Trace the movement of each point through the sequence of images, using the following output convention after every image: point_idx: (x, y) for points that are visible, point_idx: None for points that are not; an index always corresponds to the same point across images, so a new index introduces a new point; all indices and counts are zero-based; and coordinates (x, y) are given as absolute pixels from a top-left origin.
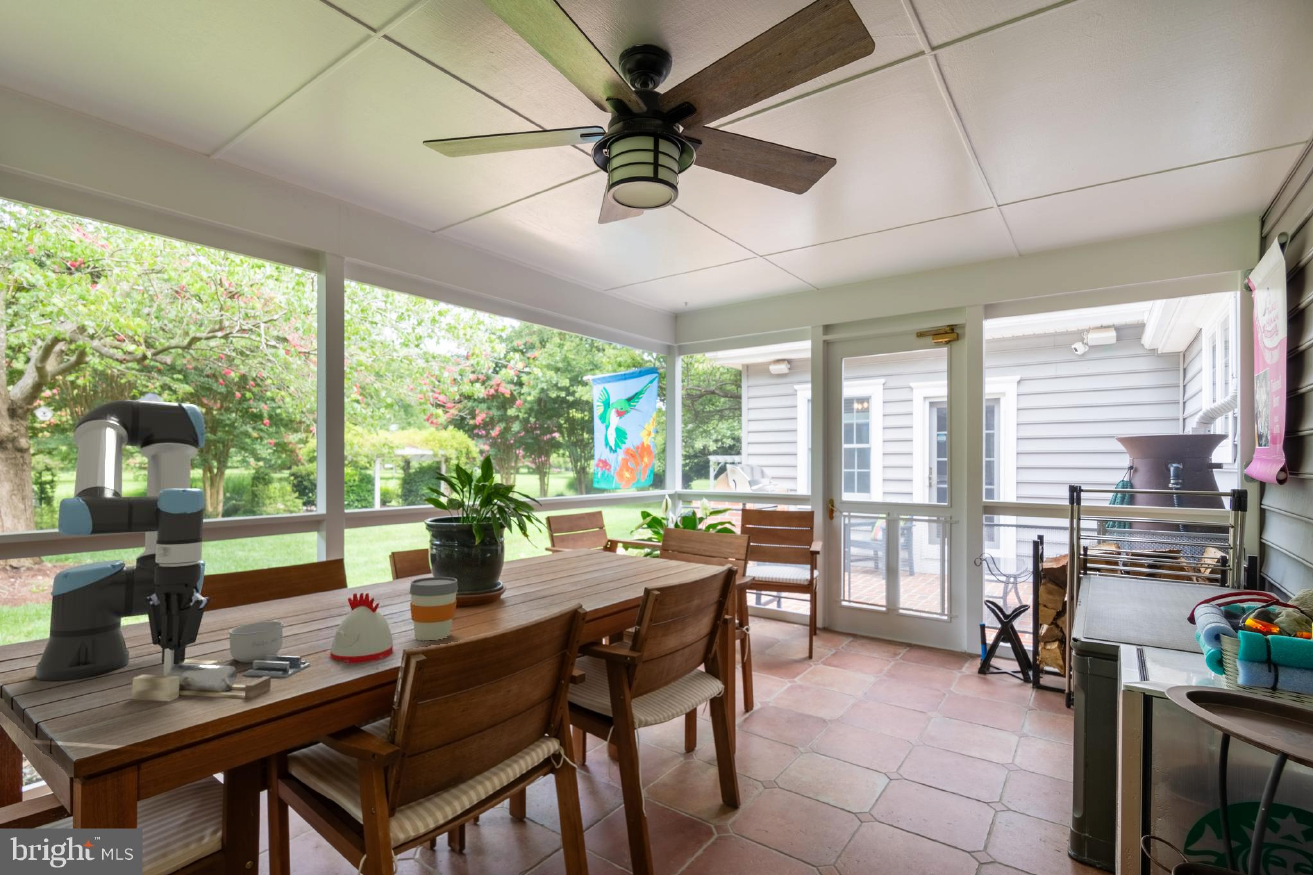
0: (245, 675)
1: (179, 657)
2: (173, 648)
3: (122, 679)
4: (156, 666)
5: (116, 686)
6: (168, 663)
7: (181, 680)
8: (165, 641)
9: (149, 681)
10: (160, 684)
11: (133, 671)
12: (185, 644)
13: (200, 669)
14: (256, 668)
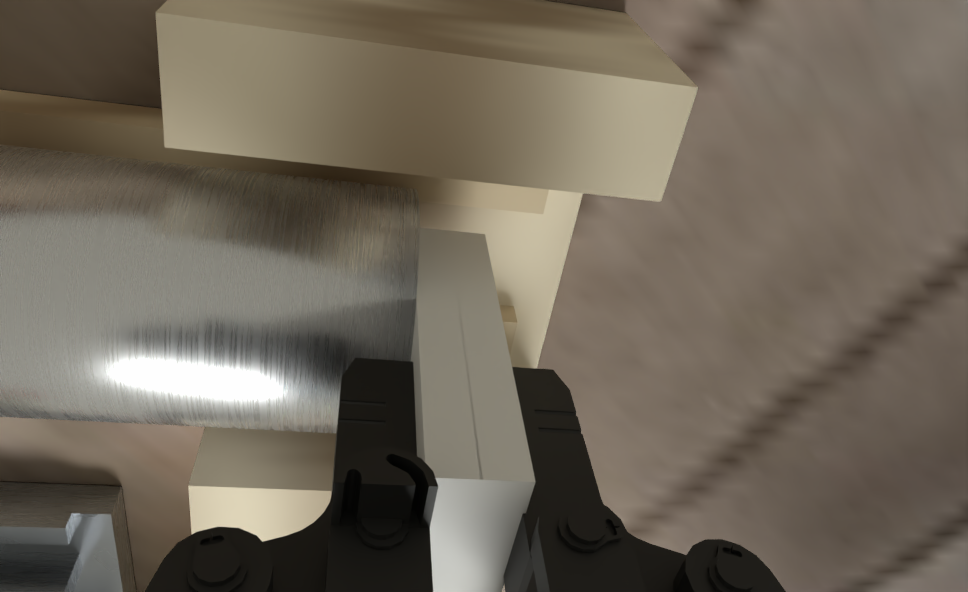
0: (88, 498)
1: (338, 419)
2: (349, 468)
3: (933, 418)
4: (831, 583)
5: (916, 313)
6: (446, 343)
7: (229, 189)
8: (559, 590)
9: (469, 45)
10: (316, 16)
11: (925, 520)
12: (172, 552)
13: (16, 291)
14: (42, 567)
